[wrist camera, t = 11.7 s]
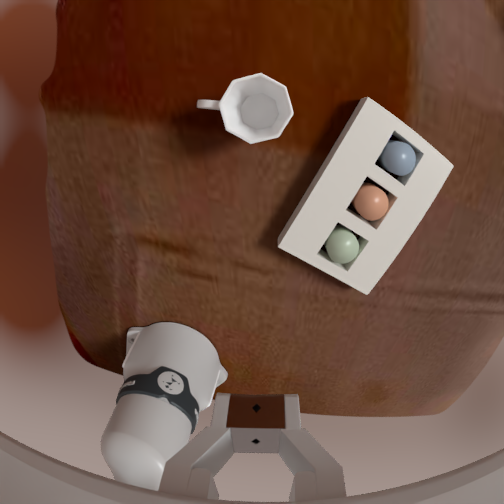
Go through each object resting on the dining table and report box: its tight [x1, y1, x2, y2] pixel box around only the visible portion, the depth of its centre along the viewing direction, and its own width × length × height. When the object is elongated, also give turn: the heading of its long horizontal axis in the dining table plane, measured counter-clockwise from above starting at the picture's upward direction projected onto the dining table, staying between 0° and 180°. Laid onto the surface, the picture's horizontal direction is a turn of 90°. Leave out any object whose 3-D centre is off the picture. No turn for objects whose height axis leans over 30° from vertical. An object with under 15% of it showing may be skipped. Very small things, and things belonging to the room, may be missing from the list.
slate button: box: [378, 140, 416, 176], centre depth 32 cm, size 4×4×3 cm
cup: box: [197, 73, 294, 144], centre depth 29 cm, size 7×10×8 cm
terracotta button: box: [351, 183, 389, 221], centre depth 34 cm, size 4×4×3 cm
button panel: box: [278, 97, 453, 295], centre depth 35 cm, size 21×14×3 cm
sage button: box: [324, 225, 359, 264], centre depth 37 cm, size 4×4×3 cm
